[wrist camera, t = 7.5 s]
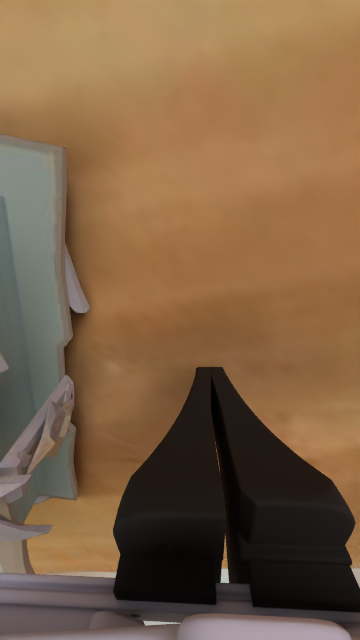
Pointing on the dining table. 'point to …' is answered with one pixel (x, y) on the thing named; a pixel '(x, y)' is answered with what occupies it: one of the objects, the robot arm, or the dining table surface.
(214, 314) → the dining table surface
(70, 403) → the ornate book
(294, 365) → the dining table surface
